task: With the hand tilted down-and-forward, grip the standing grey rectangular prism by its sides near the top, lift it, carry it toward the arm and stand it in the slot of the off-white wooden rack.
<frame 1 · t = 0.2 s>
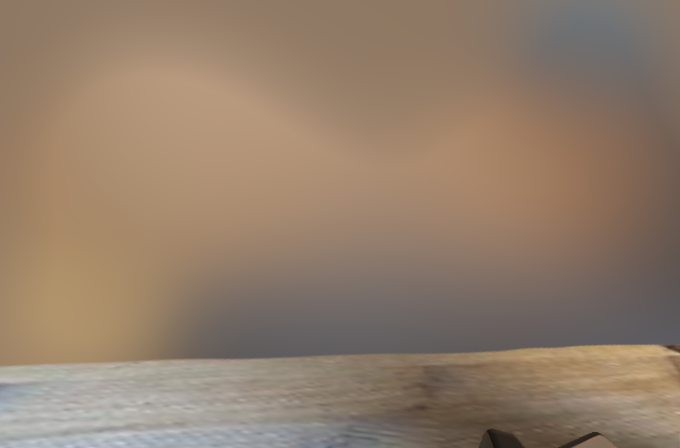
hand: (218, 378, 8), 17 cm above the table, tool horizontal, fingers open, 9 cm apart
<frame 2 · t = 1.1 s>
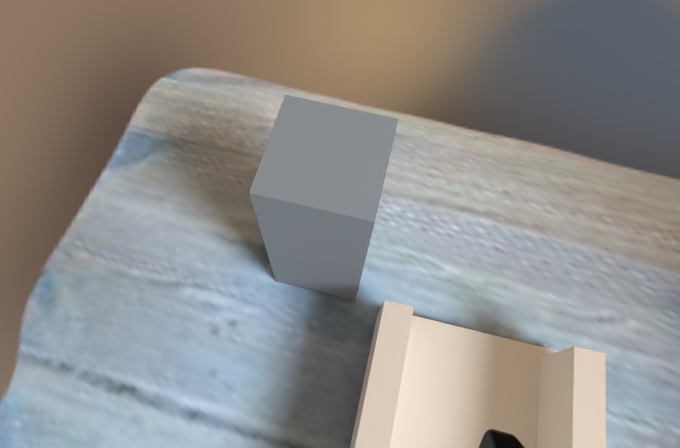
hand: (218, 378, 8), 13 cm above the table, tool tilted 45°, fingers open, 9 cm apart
grey rectangular prism: (325, 253, 23), on the table
rack: (454, 446, 19), on the table
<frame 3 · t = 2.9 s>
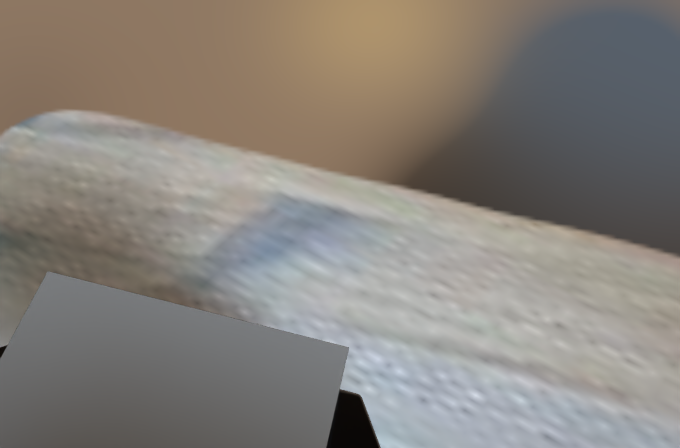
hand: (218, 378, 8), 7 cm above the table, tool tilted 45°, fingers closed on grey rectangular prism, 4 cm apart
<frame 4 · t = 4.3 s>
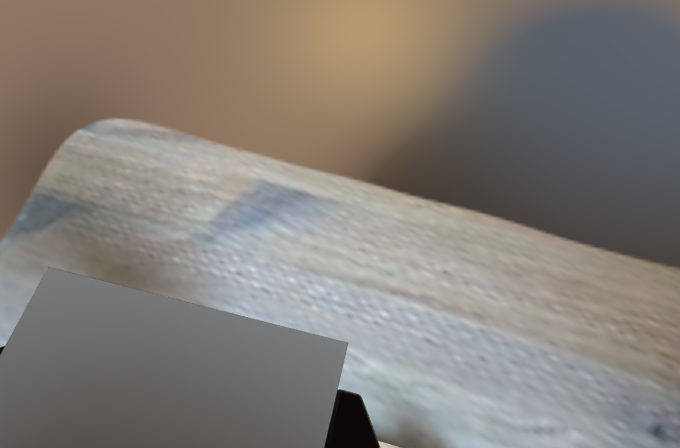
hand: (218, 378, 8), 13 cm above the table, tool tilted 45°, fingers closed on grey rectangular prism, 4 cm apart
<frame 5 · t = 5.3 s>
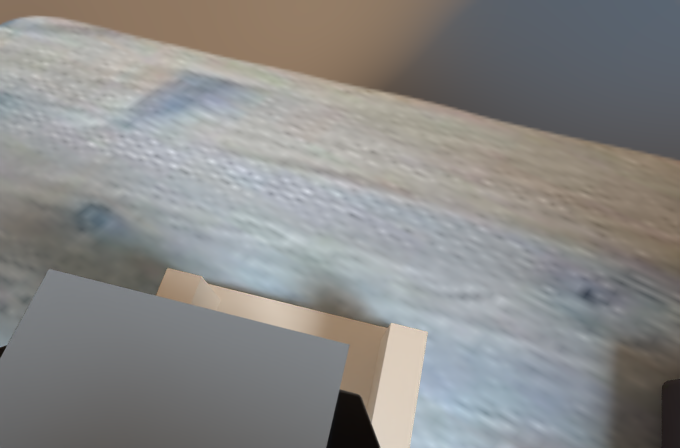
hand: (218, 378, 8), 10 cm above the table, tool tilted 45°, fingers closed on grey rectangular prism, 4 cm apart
rack: (266, 445, 16), on the table
when the fingers open (8 cm above the table, at t = 5.9 s): grey rectangular prism stays where it is, resting on rack.
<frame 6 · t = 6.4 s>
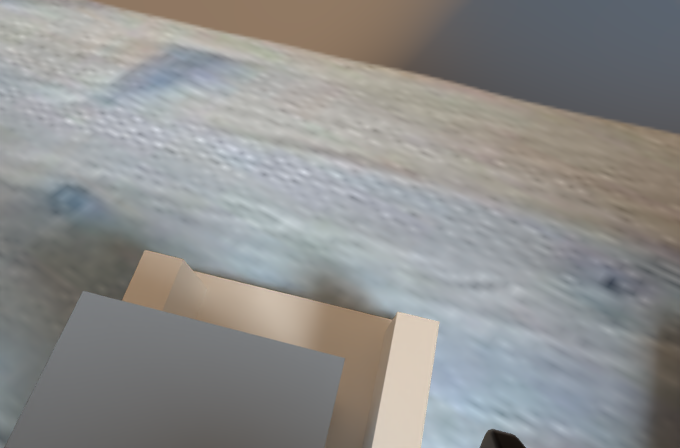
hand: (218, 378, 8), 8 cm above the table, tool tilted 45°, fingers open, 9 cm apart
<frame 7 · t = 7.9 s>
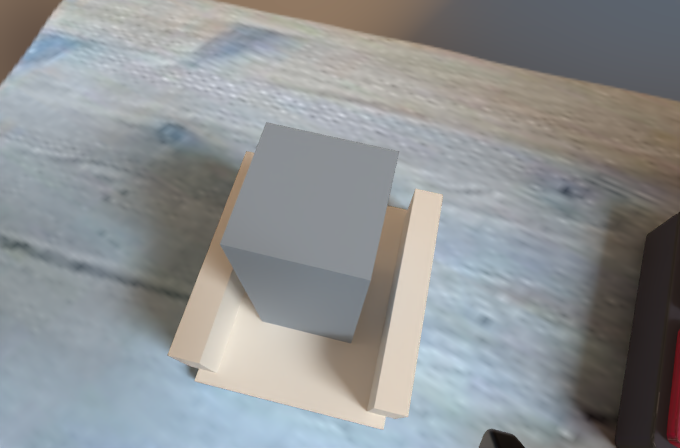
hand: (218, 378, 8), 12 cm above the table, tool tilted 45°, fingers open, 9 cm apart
grey rectangular prism: (317, 289, 21), point 1 cm above the table, touching rack
rack: (318, 293, 21), on the table
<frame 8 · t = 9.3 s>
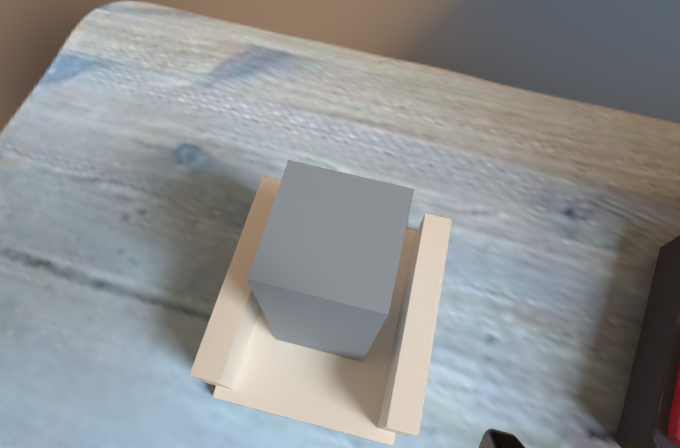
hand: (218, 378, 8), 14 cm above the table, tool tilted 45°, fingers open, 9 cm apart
grey rectangular prism: (330, 308, 21), point 1 cm above the table, touching rack
rack: (330, 311, 22), on the table
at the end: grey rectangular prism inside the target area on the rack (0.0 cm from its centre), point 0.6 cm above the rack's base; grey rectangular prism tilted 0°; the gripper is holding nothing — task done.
